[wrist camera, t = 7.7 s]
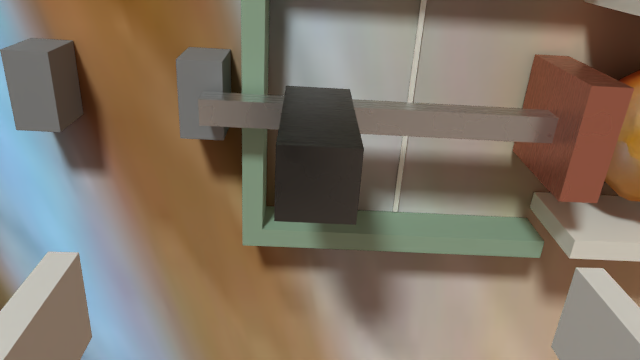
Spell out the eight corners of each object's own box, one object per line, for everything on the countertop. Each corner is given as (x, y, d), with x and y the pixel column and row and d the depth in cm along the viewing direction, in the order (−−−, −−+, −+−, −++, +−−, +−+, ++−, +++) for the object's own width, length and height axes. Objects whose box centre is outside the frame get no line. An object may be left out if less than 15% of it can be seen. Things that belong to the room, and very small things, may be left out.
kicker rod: (215, 135, 32) (162, 246, 21) (212, 36, 30) (150, 100, 18) (544, 152, 33) (665, 268, 22) (569, 56, 30) (721, 130, 19)
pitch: (60, 212, 35) (38, 238, 32) (6, -101, 27) (-31, -105, 24) (522, 233, 36) (541, 259, 33) (599, -62, 28) (632, -61, 25)
